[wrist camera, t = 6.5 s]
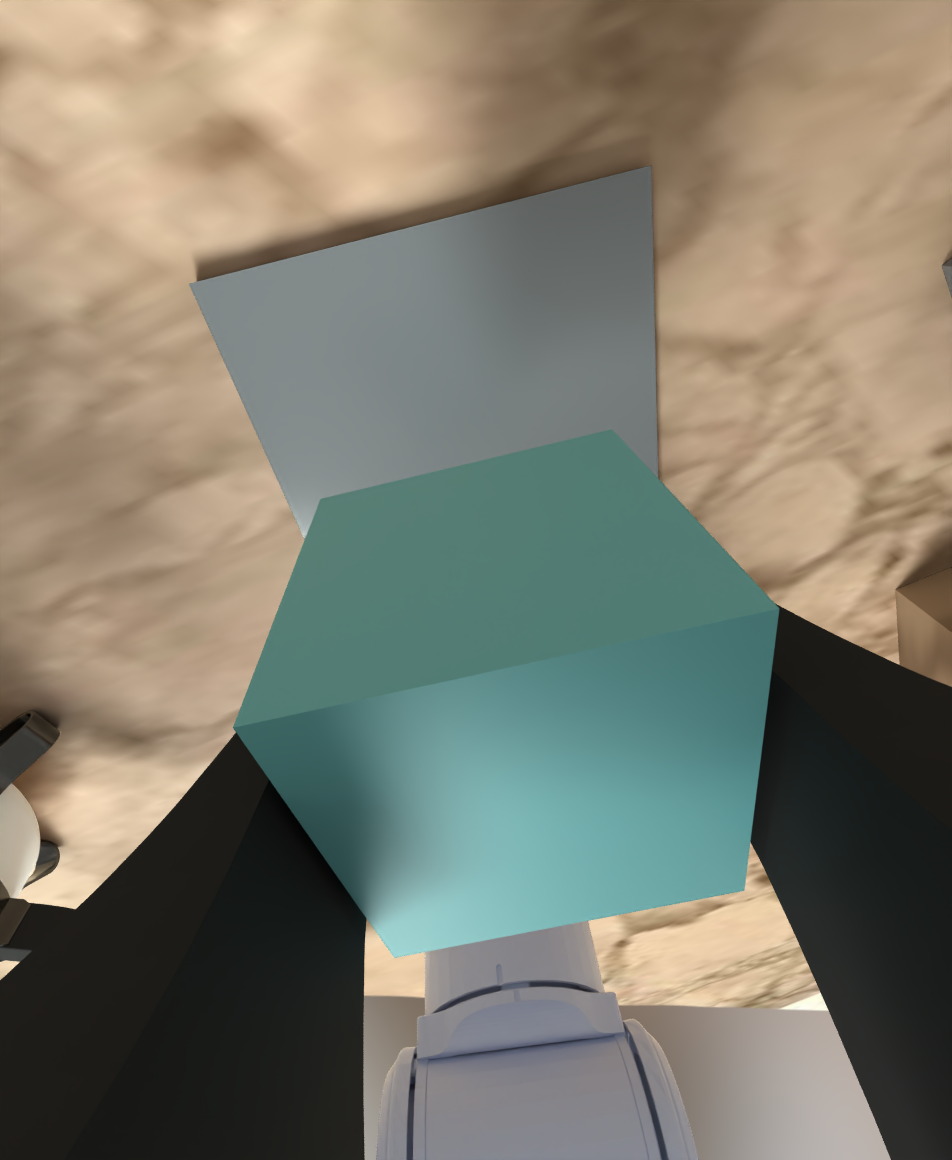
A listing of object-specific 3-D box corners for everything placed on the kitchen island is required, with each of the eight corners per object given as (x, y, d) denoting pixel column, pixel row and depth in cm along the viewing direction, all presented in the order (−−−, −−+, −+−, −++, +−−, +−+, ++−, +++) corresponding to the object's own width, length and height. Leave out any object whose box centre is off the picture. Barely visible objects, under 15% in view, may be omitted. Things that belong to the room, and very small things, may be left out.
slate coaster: (655, 558, 20) (659, 565, 20) (348, 626, 21) (347, 634, 20) (644, 167, 14) (651, 165, 13) (195, 282, 14) (189, 283, 14)
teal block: (629, 652, 12) (743, 890, 7) (404, 700, 12) (394, 958, 8) (611, 429, 9) (779, 608, 5) (319, 499, 9) (232, 727, 5)
